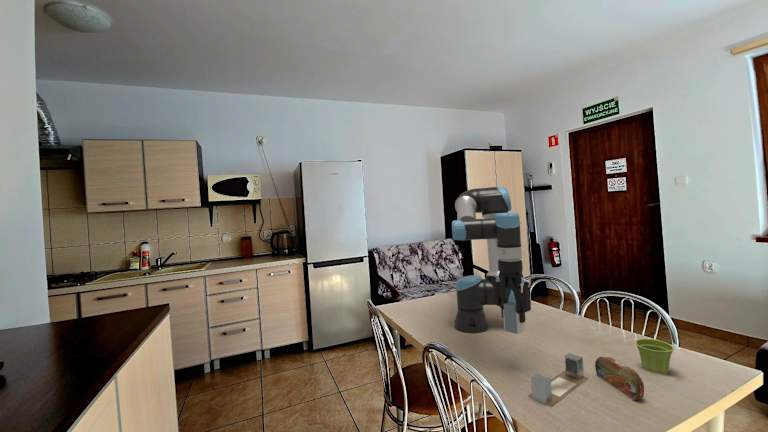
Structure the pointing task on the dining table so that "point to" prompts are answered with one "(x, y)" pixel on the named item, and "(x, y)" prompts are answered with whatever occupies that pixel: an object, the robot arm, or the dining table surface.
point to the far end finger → (574, 366)
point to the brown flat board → (562, 387)
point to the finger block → (510, 316)
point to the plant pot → (655, 355)
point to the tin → (620, 377)
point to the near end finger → (541, 388)
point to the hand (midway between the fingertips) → (513, 329)
